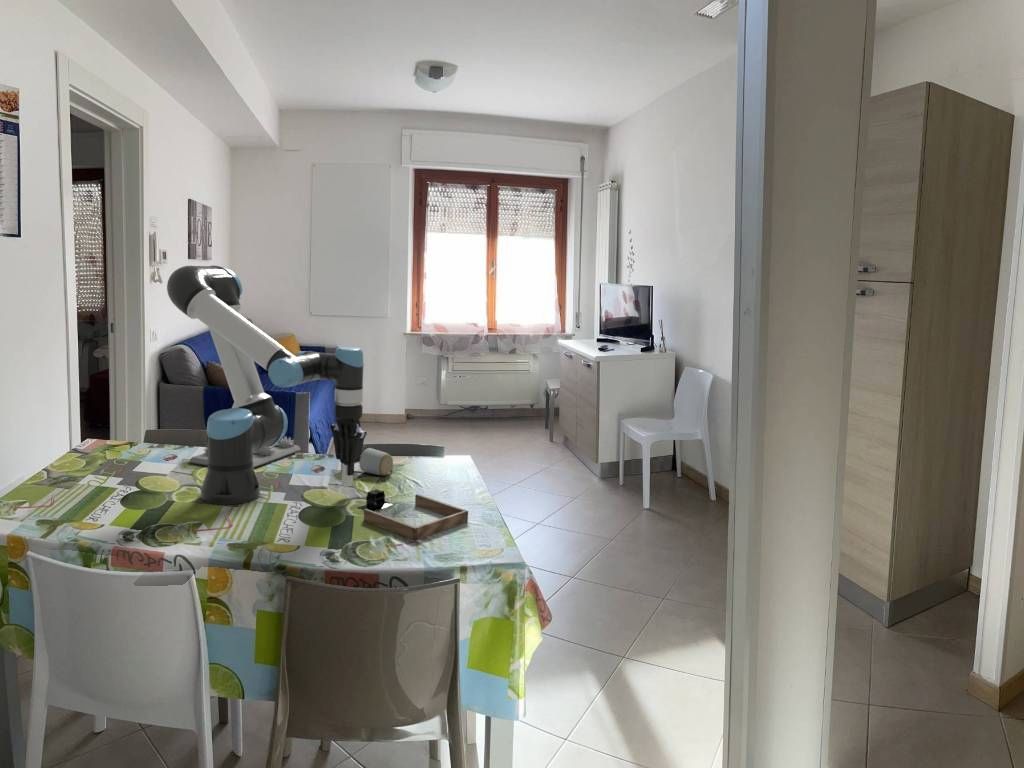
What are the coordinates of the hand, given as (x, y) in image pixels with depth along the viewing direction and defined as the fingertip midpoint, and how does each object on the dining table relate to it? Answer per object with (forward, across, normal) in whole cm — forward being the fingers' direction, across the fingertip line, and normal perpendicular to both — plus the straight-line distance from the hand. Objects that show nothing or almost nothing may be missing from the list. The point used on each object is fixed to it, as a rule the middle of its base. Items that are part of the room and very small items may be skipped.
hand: (347, 485), depth 209 cm
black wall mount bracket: (+4, -12, 0) cm, 12 cm away
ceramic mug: (+3, +12, -22) cm, 25 cm away
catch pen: (+3, -28, 0) cm, 28 cm away
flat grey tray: (+4, +52, -2) cm, 53 cm away
